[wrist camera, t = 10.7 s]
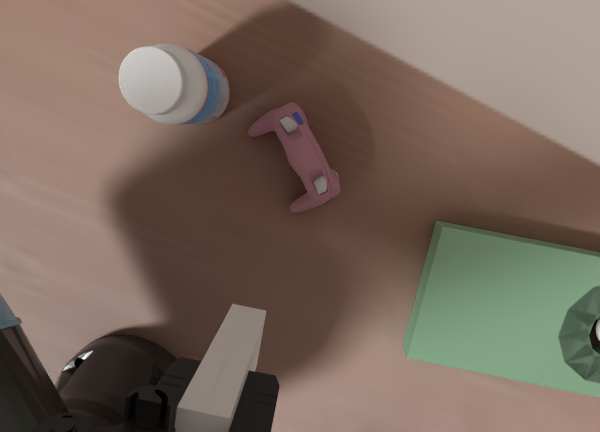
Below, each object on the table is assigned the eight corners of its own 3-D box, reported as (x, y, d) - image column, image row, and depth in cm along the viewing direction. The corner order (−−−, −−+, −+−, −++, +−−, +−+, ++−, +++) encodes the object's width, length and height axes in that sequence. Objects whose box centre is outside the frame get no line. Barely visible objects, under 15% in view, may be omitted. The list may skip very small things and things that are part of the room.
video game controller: (326, 195, 42) (357, 191, 36) (290, 217, 41) (315, 217, 35) (280, 108, 41) (304, 87, 34) (241, 128, 40) (258, 111, 33)
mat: (402, 344, 44) (406, 357, 41) (436, 220, 41) (442, 226, 38) (646, 394, 43) (665, 410, 41) (701, 271, 40) (725, 281, 37)
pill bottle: (234, 62, 39) (196, 39, 28) (228, 127, 40) (189, 130, 29) (171, 53, 39) (109, 27, 28) (167, 119, 40) (107, 119, 29)
